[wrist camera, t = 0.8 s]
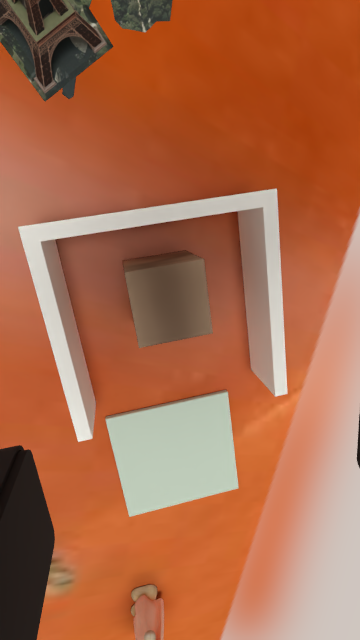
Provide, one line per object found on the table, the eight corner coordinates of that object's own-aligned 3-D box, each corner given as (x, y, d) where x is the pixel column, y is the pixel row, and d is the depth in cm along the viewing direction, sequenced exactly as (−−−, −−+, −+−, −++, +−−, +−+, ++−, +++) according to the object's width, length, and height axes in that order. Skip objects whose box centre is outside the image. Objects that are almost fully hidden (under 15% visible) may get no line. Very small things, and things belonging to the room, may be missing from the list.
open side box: (248, 193, 27) (276, 188, 22) (261, 367, 31) (287, 393, 26) (36, 225, 25) (17, 226, 20) (84, 405, 29) (78, 441, 24)
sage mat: (226, 389, 31) (227, 391, 31) (237, 485, 35) (238, 488, 34) (105, 416, 30) (105, 419, 29) (129, 513, 33) (129, 516, 33)
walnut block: (185, 250, 27) (203, 258, 21) (193, 310, 29) (212, 333, 23) (122, 260, 26) (124, 272, 21) (134, 321, 28) (139, 348, 22)
